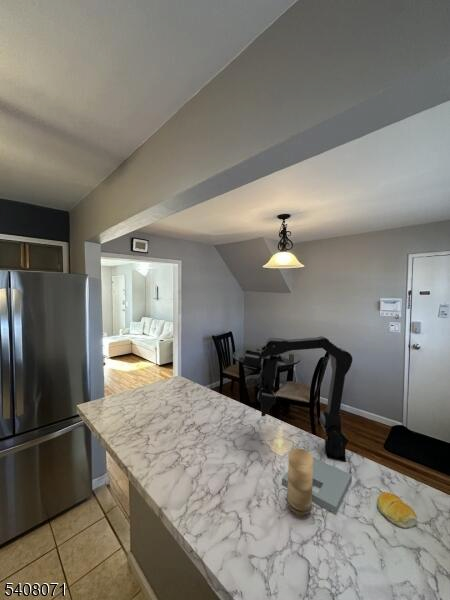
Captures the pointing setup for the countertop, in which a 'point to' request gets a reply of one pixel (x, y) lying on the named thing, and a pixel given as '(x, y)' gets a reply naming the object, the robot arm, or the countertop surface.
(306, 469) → the oak leg
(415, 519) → the bread roll
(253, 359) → the robot arm
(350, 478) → the slate board
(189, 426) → the countertop surface
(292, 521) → the countertop surface
